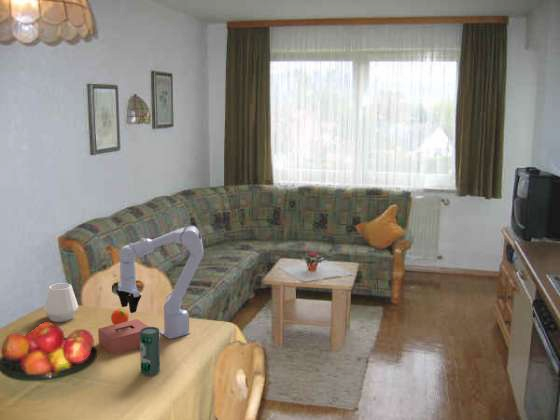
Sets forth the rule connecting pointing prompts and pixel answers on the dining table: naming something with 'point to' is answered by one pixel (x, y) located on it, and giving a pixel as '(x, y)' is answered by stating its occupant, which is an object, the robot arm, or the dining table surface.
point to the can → (150, 351)
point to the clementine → (119, 316)
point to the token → (123, 329)
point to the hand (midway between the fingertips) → (128, 309)
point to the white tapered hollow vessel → (60, 302)
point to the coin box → (121, 336)
